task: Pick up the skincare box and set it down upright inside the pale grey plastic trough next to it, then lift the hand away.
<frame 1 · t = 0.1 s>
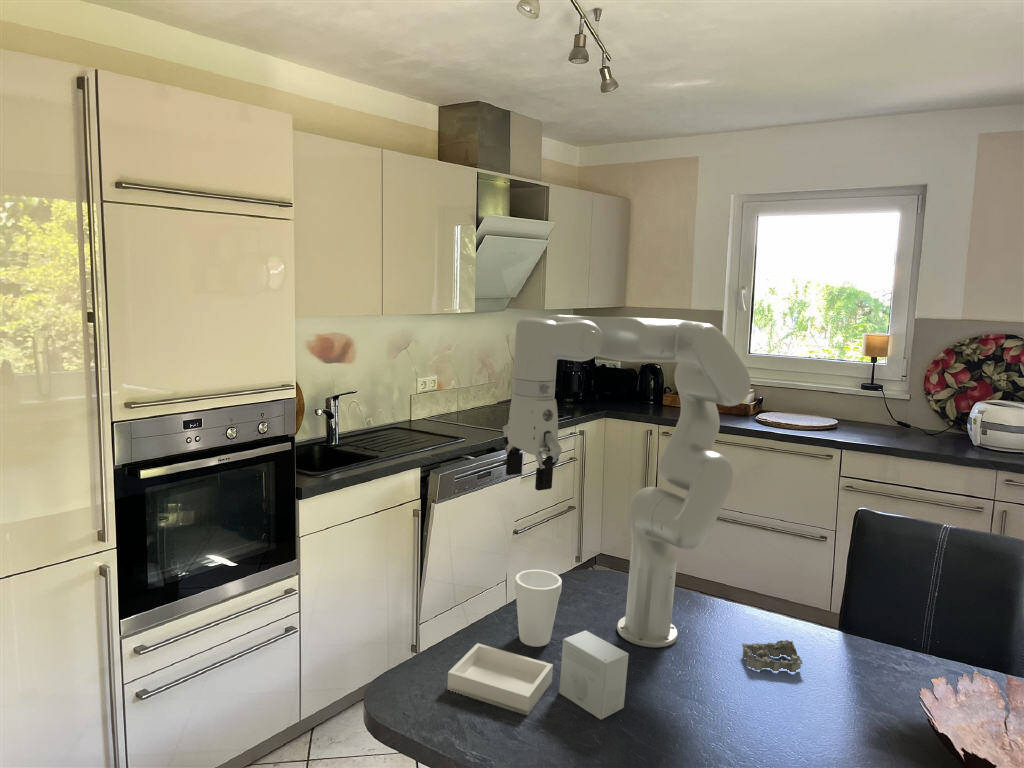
hand: (528, 481, 133), 37 cm above the table, tool pointing down, fingers open, 9 cm apart
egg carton: (770, 666, 147), on the table
trough: (500, 686, 134), on the table
skincare box: (591, 701, 131), on the table
foam cup: (534, 639, 152), on the table
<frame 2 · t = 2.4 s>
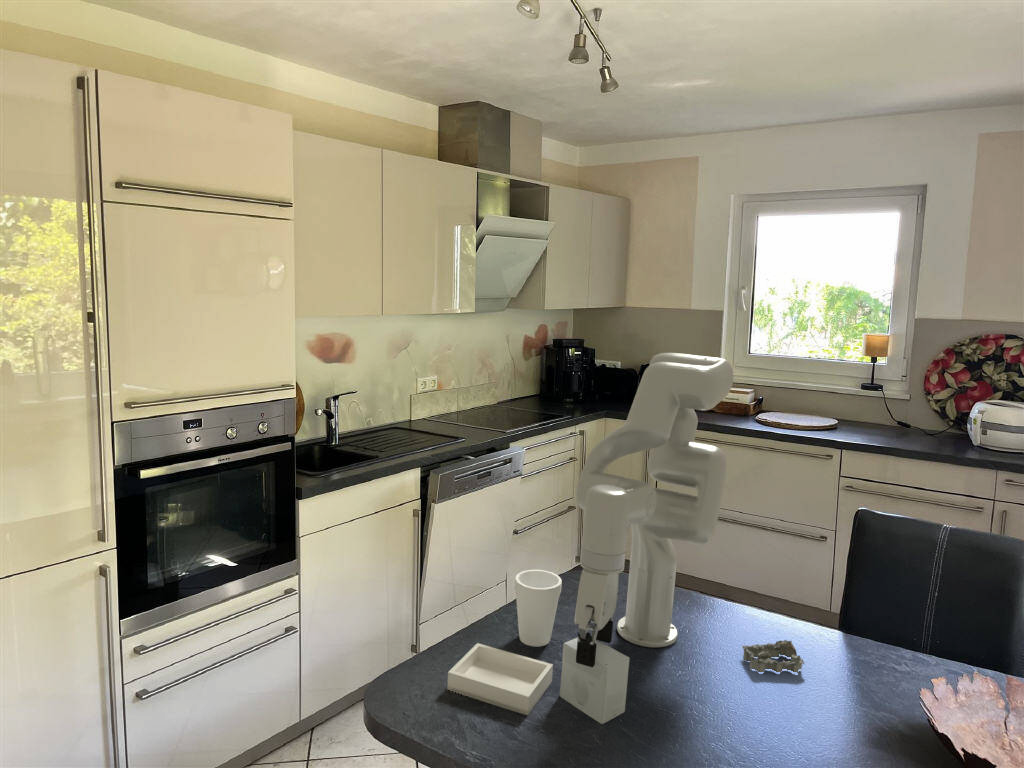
hand: (593, 652, 128), 10 cm above the table, tool pointing down, fingers open, 9 cm apart
skincare box: (591, 705, 131), on the table, touching gripper
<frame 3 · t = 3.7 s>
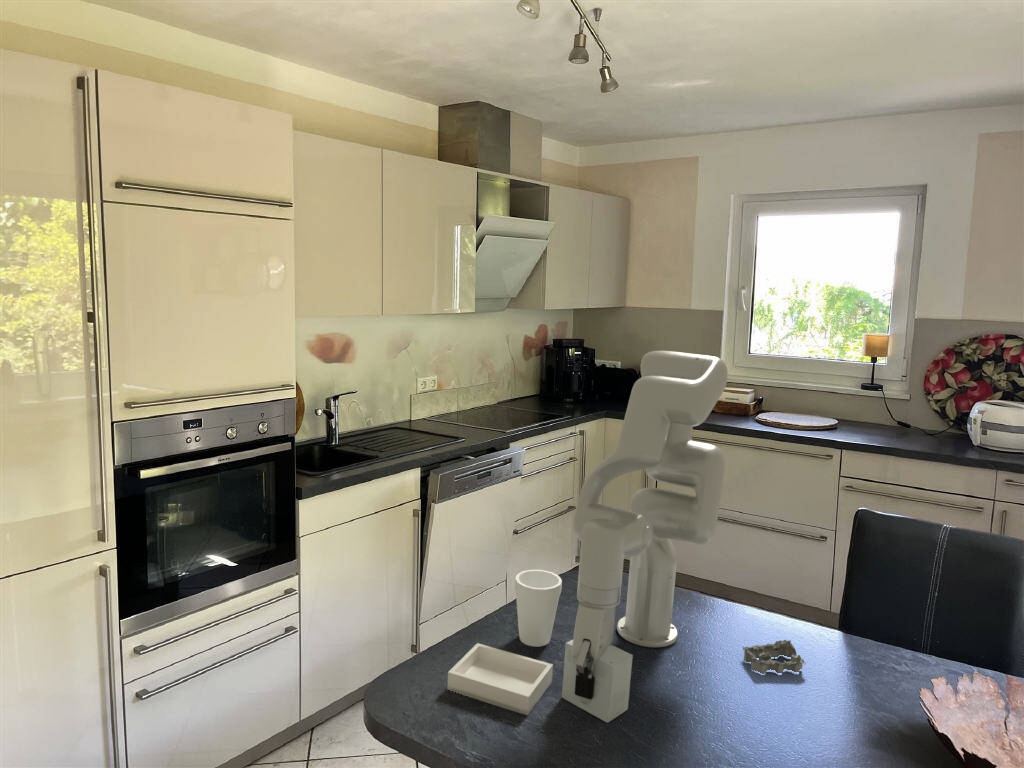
hand: (591, 684, 131), 3 cm above the table, tool pointing down, fingers closed on skincare box, 7 cm apart
skincare box: (594, 704, 130), on the table, touching gripper
everything else where it was.
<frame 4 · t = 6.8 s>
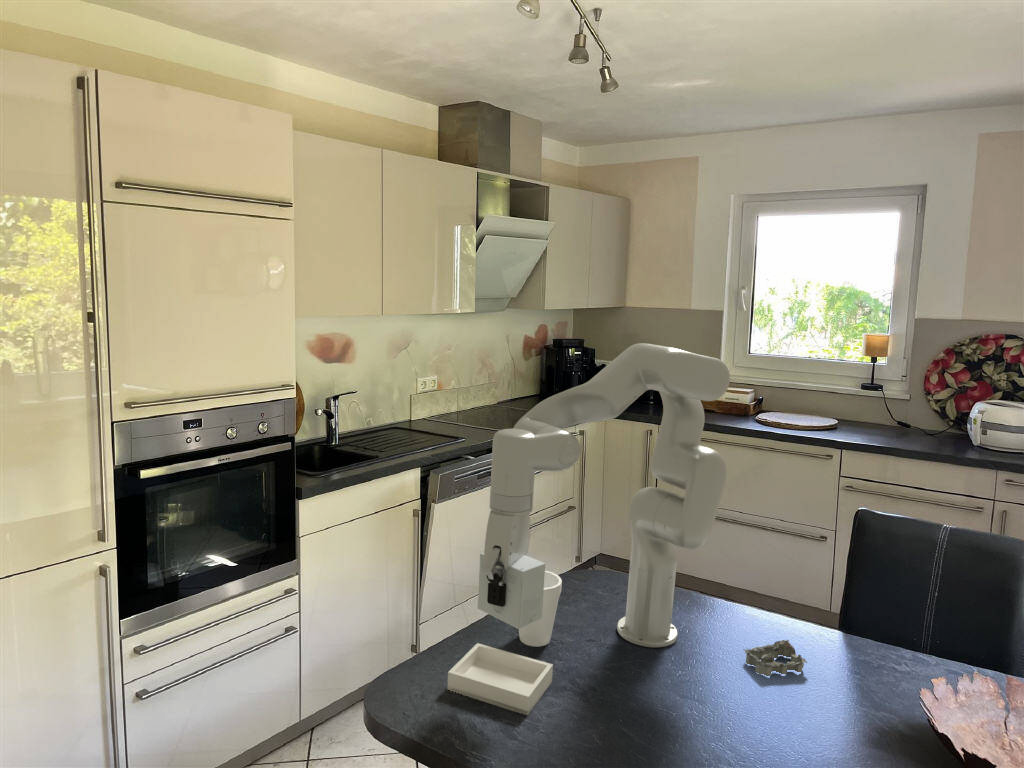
hand: (506, 594, 131), 18 cm above the table, tool pointing down, fingers closed on skincare box, 7 cm apart
skincare box: (509, 614, 131), point 14 cm above the table, touching gripper
when the fingers open (6 cm above the table, at t = 10.1 s): skincare box stays where it is, resting on trough.
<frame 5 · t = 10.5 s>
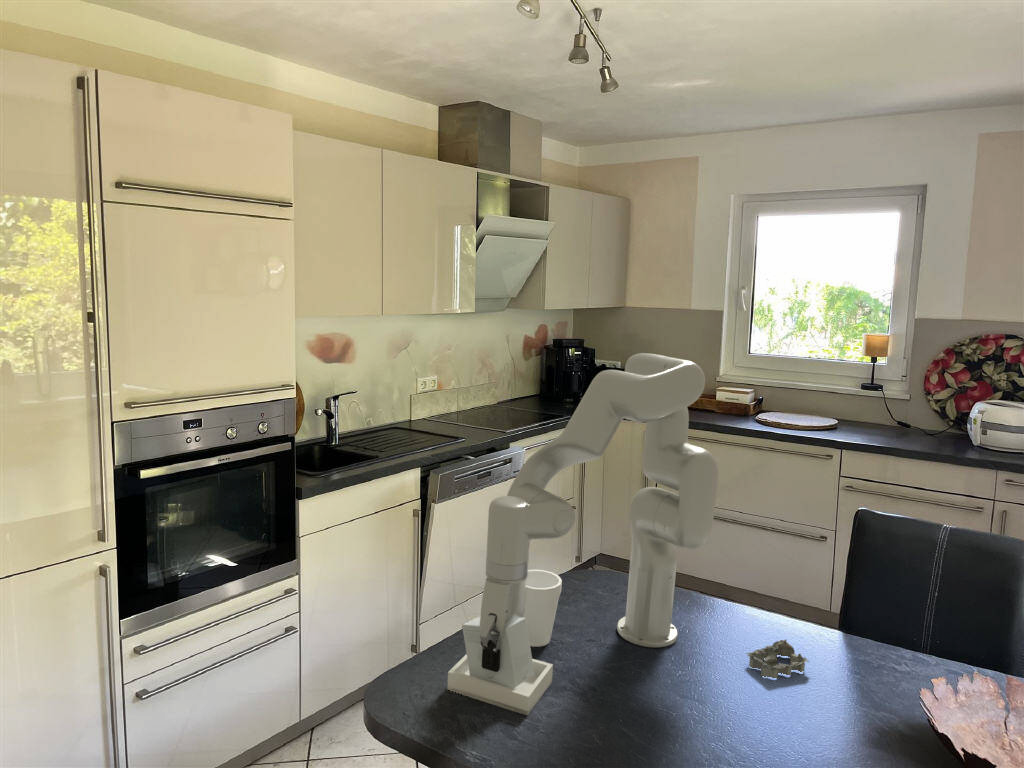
hand: (502, 656, 133), 6 cm above the table, tool pointing down, fingers open, 9 cm apart
skincare box: (502, 679, 133), point 2 cm above the table, touching trough
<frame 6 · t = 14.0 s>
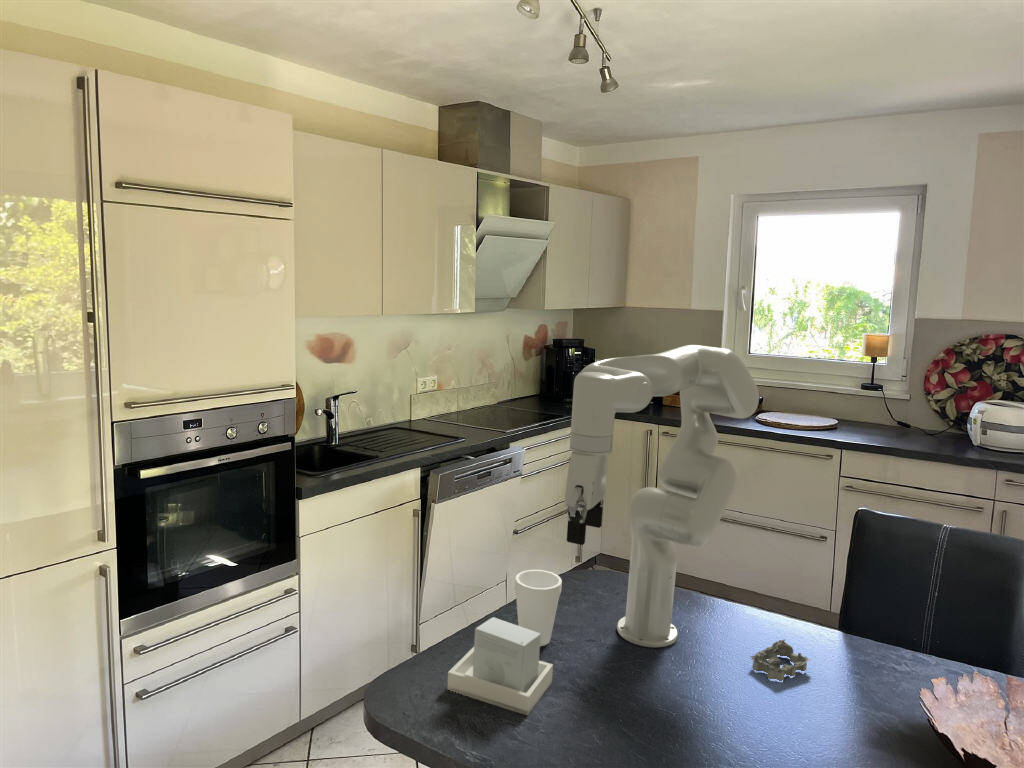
hand: (584, 534, 133), 28 cm above the table, tool pointing down, fingers open, 9 cm apart
skincare box: (504, 685, 133), point 1 cm above the table, touching trough
at the end: skincare box 1.0 cm off-centre on the trough, point 0.6 cm above the trough's base; skincare box tilted 0°; the gripper is holding nothing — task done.
